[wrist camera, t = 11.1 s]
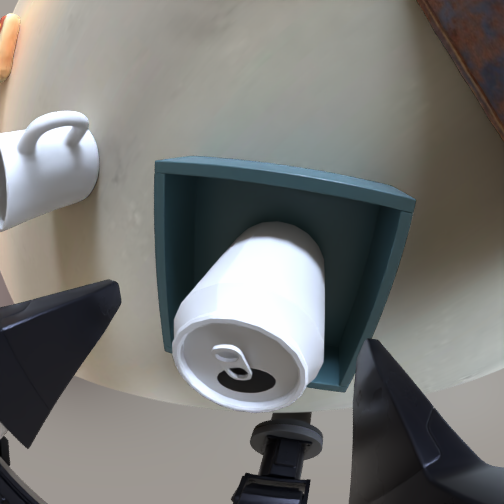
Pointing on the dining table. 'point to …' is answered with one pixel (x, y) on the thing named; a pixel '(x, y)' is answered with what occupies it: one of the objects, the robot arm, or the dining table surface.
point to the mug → (46, 167)
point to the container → (474, 47)
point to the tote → (291, 212)
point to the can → (255, 321)
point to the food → (8, 43)
